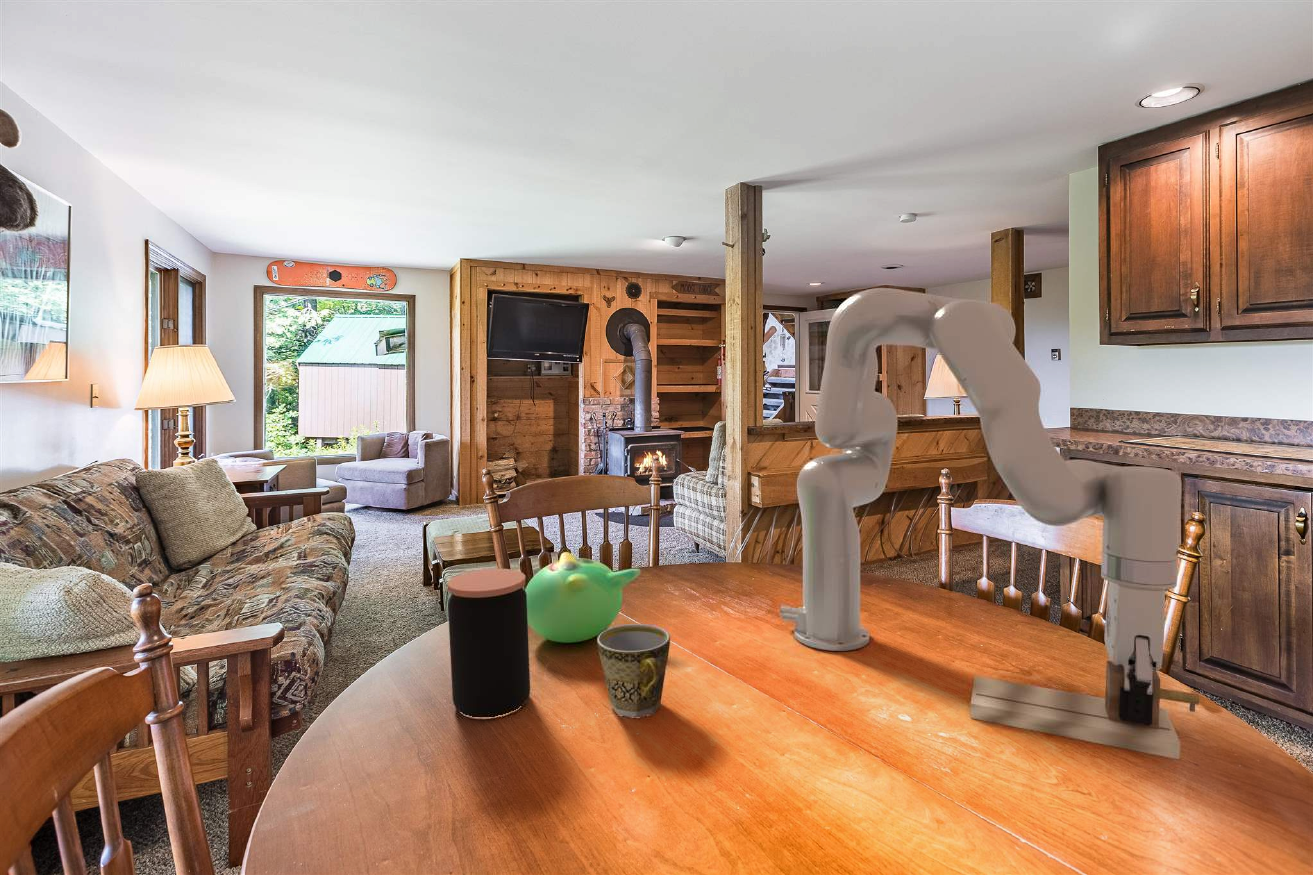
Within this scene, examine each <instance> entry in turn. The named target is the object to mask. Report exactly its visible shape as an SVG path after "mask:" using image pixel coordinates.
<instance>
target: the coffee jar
mask: <svg viewBox="0 0 1313 875" xmlns="http://www.w3.org/2000/svg"><path fill="white" fill-rule="evenodd" d="M526 576H527V575H525V574H524V573H523V572H521V571H519V570H516V569H509V568H486V569H485V568H484V569H478V570H472V571H467V572H465V573H460V574H458V575H455V576H454V577H451V578H450V579H449V580H448V581H447V584H446V587H447V590H448V592H449V594H451V595H450V596H449V598H448V600H447V612H448V614H447V616H448V632H449V633H448V634H449V651H450V652H449V653H450V669H451V671H450V672H451V676H450V677H451V692H452V696H451V697H452V702H453V705H454V707H455V709H456V710H457V711H458V710H459V711H460V712H462V713H463V714H465V715H469V716H472V717H495V716H498V715H503V714H506V713H509V712H511V711H514V710H516V709H518V708H519V707H520V706H522V705H523V704H524V703H525V701H526V702H527V700H528V699H529V696H530V694H531V679H530V678H531V675H530V674H531V672H530V670H531V669H530V650H529V649H530V646H529V624H528V620H527V594H526V591H525V589H524V586H525V585H526ZM525 704H526V703H525ZM525 704H524V705H525ZM524 705H523V706H524ZM523 706H522V707H523ZM459 711H458V712H459ZM460 712H459V713H460Z"/></svg>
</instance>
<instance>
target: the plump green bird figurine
mask: <svg viewBox="0 0 1313 875" xmlns="http://www.w3.org/2000/svg"><path fill="white" fill-rule="evenodd" d="M641 574H642V571H641V569H640V568H629V569H625V570H621V571H620V570H618V571H613V570H612V569H611V568H610V567H608V566H607V565H605V564H604V563H602V562H599V561H597V560H594V559H590V558H581V557H575V555H573V554H571V553H570V552H568V551H565V552H564V551H563V552H562V553H561V554H560V557H559V560H557V561H555V562H552V563H549V564H548V565H546V566H545V567H543V568H541V569H540V570H538V571H537V572H536V573H535V575H533V577H532V578H531V579H530V581H529V582H528V583H527V586H526V587H525V589H524V590H525V591H526V594H527V620H528V626H529V627H530V628H531V629H532V630H533V631H534V632H535V634H537V635H538V636H540V637H542V638H544V639H547V640H549V641H552V642H555V643H556V642H557V643H563V644H564V643H565V644H567V643H569V644H571V643H573V644H574V643H578V642H584V641H588V640H590V639H593V638H594V637H598V636H599V635H600V634H601V633H602V632H604V631H606V630H608V629H609V627H611V625H612V624H613V622H614V621H615V620H616V618H617V617H618V615H619V613H620V610H621V608H622V605H623V598H624V597H623V590H622V589H623V588H624V587H626V586H627V585H629V584H630V583H631V582H633V581H634V580H635V579H636V578H638V577H639V576H640V575H641Z"/></svg>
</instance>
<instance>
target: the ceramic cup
mask: <svg viewBox="0 0 1313 875" xmlns="http://www.w3.org/2000/svg"><path fill="white" fill-rule="evenodd" d="M596 641H597V648H598V654H599V659H600V662H601V667H602V669H603V676H604V679H605V683H606V689H607V693H608V699H609V702H610V707H611V708H612V709H614V710H613V711H614V712H615V713H617V714H618V715H622V716H627V717H633V718H637V717H643V716H647V715H651V716H653V715H654V714H655V713H656V711H657V710H658V709H659V708H660V706H661V704H662V696H663V692H664V691H663V690H664V689H663V688H664V683H665V677H666V669H667V664H668V661H669V660H668V659H669V655H670V654H669V653H670V646H671V645H670V644H671V635H670V633H669V632H668V631H667V630H666V629H663V628H662V627H659V626H656V625H651V624H644V623H643V624H642V623H639V624H638V623H634V624H633V623H631V624H629V623H628V624H623V625H622V624H621V625H617V626H613V627H610V628H607V629H606V630H604V631H603V632H602V633H600V634H598V635H597V640H596ZM658 707H659V708H658ZM657 708H658V709H657ZM654 712H655V713H654ZM653 713H654V714H653ZM617 714H616V715H617ZM652 714H653V715H652ZM618 715H617V716H618ZM622 716H621V717H622ZM627 717H626V718H627ZM647 717H648V716H647ZM633 718H632V719H633ZM643 718H644V717H643Z"/></svg>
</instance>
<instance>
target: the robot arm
mask: <svg viewBox="0 0 1313 875" xmlns="http://www.w3.org/2000/svg"><path fill="white" fill-rule="evenodd" d="M1016 332H1017V331H1016V324H1015V320H1014V318H1013V316H1012V315H1011V313H1010V312H1009V310H1008V309H1006V308H1005V307H1004V306H1002V305H1000V304H998V303H996V302H991V301H985V300H979V299H970V298H968V299H967V298H966V299H964V298H963V299H960V298H954V297H948V296H943V295H935V294H929V293H923V292H917V291H910V290H903V289H899V288H898V289H897V288H890V287H889V288H887V287H886V288H885V287H878V288H870V289H866V290H862V291H859V292H857V293H855V294H852V295H851V296H850V297H848V298H847V299H846V300H844V301H843V302H842V303H841V304H840V305H839V307H838V308H837V309H836V310H835V311H834V313H833V315H832V317H831V320H830V323H829V325H828V331H827V336H826V337H827V338H826V348H825V359H824V360H825V361H824V366H823V372H822V376H821V381H820V382H821V383H820V389H819V394H818V401H817V402H818V403H817V407H816V414H815V418H814V419H815V421H814V431H815V435H816V437H817V439H818V440H819V442H820V443H821V444H822V445H824V446H825V447H827V448H830V449H835V450H842V451H841V453H833V454H827V455H822V456H819V457H816V458H813V459H811V460H810V461H808V462H807V463H806V464H805V465H804V466H803V467H802V468H801V470H800V471H799V473H798V476H797V479H796V493H797V495H796V496H797V498H798V504H799V509H800V510H799V511H800V516H801V526H802V527H801V528H802V606H798V607H797V608H796V607H792V606H786V605H781V606H780V608H779V616H780V617H782V621H784V622H791V623H792V622H794V623H795V625H794V628H793V636H794V638H795V639H796V640H797V641H798V642H800V643H801V644H803V645H805V646H807V647H809V648H813V649H818V650H823V651H833V652H843V651H845V652H846V651H854V650H857V649H861V648H864V647H865V646H866V645H868V643H869V642H870V632H869V630H868V629H867V628H866V627H864V626H863V625H861V536H860V528H859V525H858V521H857V518H856V516H855V512H854V508H856V507H859V506H863V505H866V504H870V503H871V502H874V501H876V499H878V498H879V497H880V496H881V495H882V494H883V492H884V491H885V488H886V486H887V483H888V479H889V475H890V470H891V464H892V460H893V454H894V448H895V444H896V438H897V433H898V414H897V411H896V409H895V406H894V404H893V403H892V401H891V400H890V398H888V397H887V396H885V394H882V393H880V392H877V391H876V390H875V389H876V384H877V378H878V373H879V363H878V356H877V352H876V350H877V347H879V346H884V345H890V346H892V345H893V346H907V347H908V346H910V347H918V348H924V349H928V350H935V351H937V352H938V354H939V355H940V357H941V358H942V360H943V361H944V364H946V366H947V367H948V369H949V371H950V372H951V373H952V375H953V376H954V378H955V379H956V381H957V383H958V384H959V386H960V387H961V388H962V390H963V392H964V393H965V394H966V396H967V398H968V400H969V401H970V403H971V404H972V406H973V407H974V409H975V411H976V412H977V414H978V416H979V421H980V427H981V433H982V434H983V438H984V442H985V445H986V449H987V451H988V454H989V457H990V459H991V461H992V463H993V465H994V467H995V470H996V471H997V473H998V474H999V476H1000V477H1001V480H1003V483H1004V484H1005V485H1006V487H1007V488H1008V490H1009V492H1010V493H1011V495H1012V496H1013V497H1014V500H1016V502H1017V503H1018V504H1019V506H1020V507H1021V508H1022V509H1023V510H1024V511H1025V513H1027V514H1028V515H1029V516H1030V517H1031V518H1033V519H1034V520H1035V521H1037V522H1039V523H1041V524H1042V525H1043V524H1044V525H1048V526H1050V527H1064V526H1069V525H1071V524H1075V523H1076V522H1079V521H1081V520H1083V519H1087V518H1092V517H1097V516H1098V517H1102V518H1103V520H1102V540H1101V541H1102V542H1101V544H1102V546H1101V567H1100V569H1101V571H1100V576H1101V578H1102V579H1104V580H1106V581H1107V582H1108V588H1107V599H1106V600H1107V601H1106V613H1105V614H1106V615H1105V623H1104V624H1105V626H1104V636H1103V637H1104V638H1103V639H1104V643H1105V644H1104V645H1105V647H1106V651H1107V652H1106V653H1107V655H1108V658H1109V661H1111V662H1112V663H1113V664H1114V665H1116V666H1118V665H1119V664H1122V665H1123V687H1120V703H1119V718H1120V719H1121V720H1122V721H1127V722H1132V723H1137V724H1143V725H1151V724H1152V709H1153V692H1152V672H1153V670H1154V671H1155V672H1158V671H1159V670H1161V669H1162V666H1163V656H1164V643H1165V642H1164V641H1165V620H1166V619H1165V618H1166V616H1165V615H1166V590H1171V589H1175V588H1176V587H1177V586H1178V568H1179V566H1178V565H1179V550H1180V549H1179V545H1180V544H1179V543H1180V526H1181V525H1180V524H1181V508H1182V507H1181V505H1182V488H1183V487H1182V479H1181V478H1180V476H1179V475H1178V474H1177V473H1176V472H1175V471H1172V470H1169V469H1166V468H1162V467H1161V468H1160V467H1153V466H1139V465H1138V466H1118V465H1114V464H1113V465H1111V464H1108V463H1103V462H1098V461H1097V462H1096V461H1093V460H1085V459H1069V460H1068V459H1067V460H1064V458H1063V457H1062V455H1061V454H1060V452H1059V451H1058V450H1057V448H1056V446H1055V445H1054V443H1053V442H1052V440H1051V439H1050V437H1049V435H1048V433H1047V431H1046V429H1045V426H1044V425H1043V422H1042V419H1041V416H1040V415H1041V414H1040V406H1039V405H1040V398H1041V392H1042V390H1041V383H1040V381H1039V378H1038V377H1037V376H1036V374H1035V373H1034V371H1033V369H1031V367H1030V366H1029V365H1028V363H1027V362H1026V361H1025V359H1024V358H1023V356H1022V354H1021V353H1020V352H1019V351H1018V349H1017V347H1016V346H1015V345H1014V344H1013V342H1014V340H1015V337H1016ZM1152 668H1153V670H1152ZM1130 670H1133V671H1135V675H1134V674H1131V677H1130Z"/></svg>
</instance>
